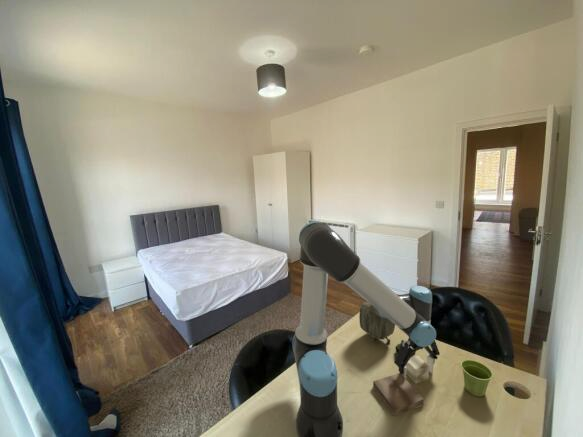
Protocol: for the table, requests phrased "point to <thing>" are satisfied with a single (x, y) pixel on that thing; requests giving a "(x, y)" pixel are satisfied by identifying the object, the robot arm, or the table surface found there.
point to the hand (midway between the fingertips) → (416, 375)
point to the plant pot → (476, 377)
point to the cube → (417, 369)
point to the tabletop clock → (375, 323)
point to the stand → (398, 394)
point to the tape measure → (399, 348)
